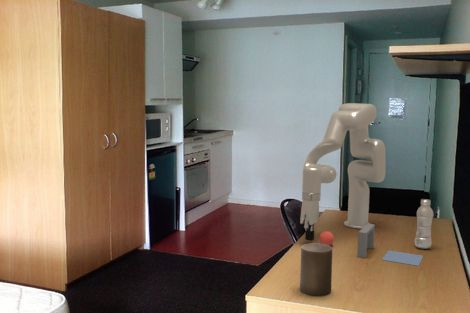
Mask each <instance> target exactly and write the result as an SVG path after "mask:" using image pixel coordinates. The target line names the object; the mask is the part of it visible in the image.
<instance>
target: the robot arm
mask: <svg viewBox="0 0 470 313" xmlns="http://www.w3.org/2000/svg"><path fill="white" fill-rule="evenodd" d="M377 112H378V111H377V107H376V106H375V105H374V104H372V103H354V102H350V103H348V102H347V103H343V104H341V105H339V107H338V110H336V111H334V112H332V115H331V116H330V118H329V122H328V125H327V128H326V131H325V134H324V136H323V139H322V141H321V142H319V143H318V144H317V145H315V146H314V147H313V148H312V150H310V152H309V153H308V154H307V156H306V158H305V160H304V161H305V162H304V164H303V169H302V186H301V189H302V191H301V192H302V193H301V200H302V202H301V209H300V218H299V219H300V221H299V223H300V225H303V224H304V226H303V228H304V229H305V235H304V236H305V238H304V239H305V240H306V241H312V242H313V240H314V239H315V229H316V228H315V227H316V223H317V222H319V218H320V201H321V195H322V194H321V190H322V184H331V183H332V182H335V180H336V179H337V175H338V174H337V170H336V168H335V167H333V166H331V165H327V164H320V163H319V164H318V162H319V160H320V159H321V158H322V157H324V156H326V155H327V154H330V153H333V152H336V151H338V150H340V149H341V148H342V147H343V144H344V141H345V138H346V135H347V132H348V131H349V143H350V144H349V147H350V148H349V149H350V154H351V156H352V157H354V158H357V159H356V160H351V161H350V163H349V164H348V167H347V175H348V200H347V201H348V202H347V207H348V208H347V220H345V221H344V222H343V224H344V226H345V227H347V228H352V229H360V230H361V229H362V228H363V227H364V226H365V225H366V224H372V223H370V221H369V210H370V206H369V205H370V186H369V184H368V183H367V182H369V183H376V184H377V183H382V182H383V181H384V180H385V178H386V171H387V170H386V168H387V167H386V165H387V164H386V163H387V161H386V160H387V158H386V156H387V155H386V146H385V143H384V142H383V140H381V139H378V138H371V137H370V135H369V127H368V126H369V125H371V124H372V123H373V122H374V121H375V120H376V118H377ZM361 159H364V160H361ZM370 160H371V161H370Z"/></svg>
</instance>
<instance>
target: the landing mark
mask: <svg viewBox="0 0 470 313" xmlns="http://www.w3.org/2000/svg"><path fill="white" fill-rule="evenodd" d="M423 257H424V255H421V254H420V255H419V254H413V253H407V252H401V251H394V250H387V251H386V253H385V255H384V256H383V257H382V259H381V261H386V262H391V263H398V264H404V265H409V266H416V267H419V266H420V264H421V262H422V261H423Z"/></svg>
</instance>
